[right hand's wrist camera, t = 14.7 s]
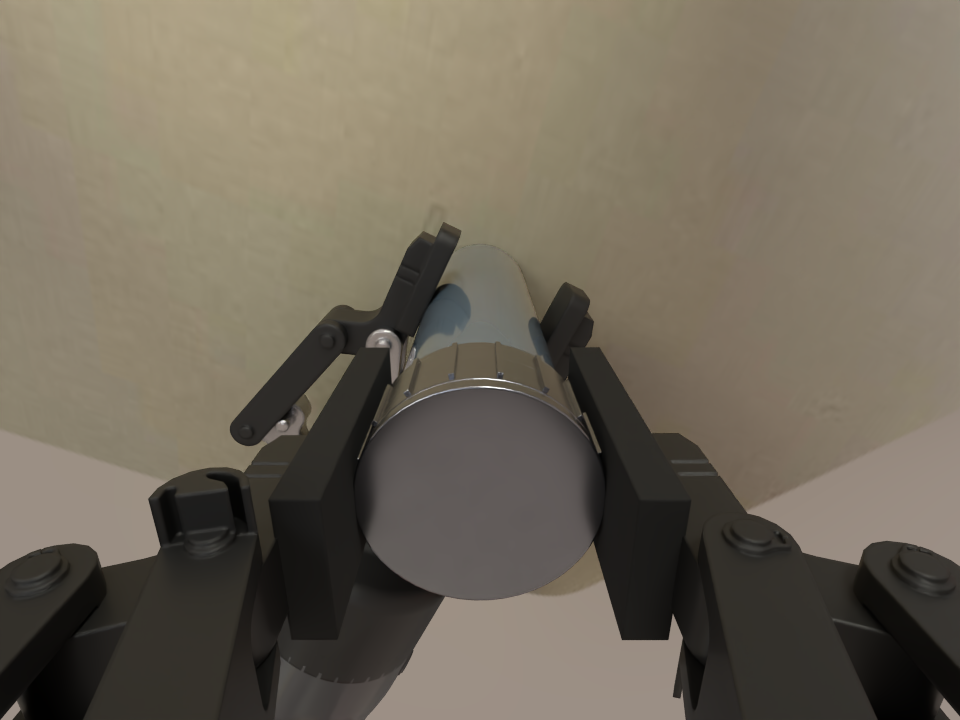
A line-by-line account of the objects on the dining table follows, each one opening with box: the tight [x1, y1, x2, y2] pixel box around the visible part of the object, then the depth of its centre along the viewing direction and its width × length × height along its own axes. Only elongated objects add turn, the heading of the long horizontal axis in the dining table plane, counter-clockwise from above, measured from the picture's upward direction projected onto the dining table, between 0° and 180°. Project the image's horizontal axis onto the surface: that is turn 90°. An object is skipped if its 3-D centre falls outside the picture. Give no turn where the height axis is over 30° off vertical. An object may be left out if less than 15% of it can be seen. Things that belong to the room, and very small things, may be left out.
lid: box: [353, 341, 606, 600], centre depth 11 cm, size 5×5×2 cm
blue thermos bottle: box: [404, 244, 556, 371], centre depth 18 cm, size 4×4×16 cm
